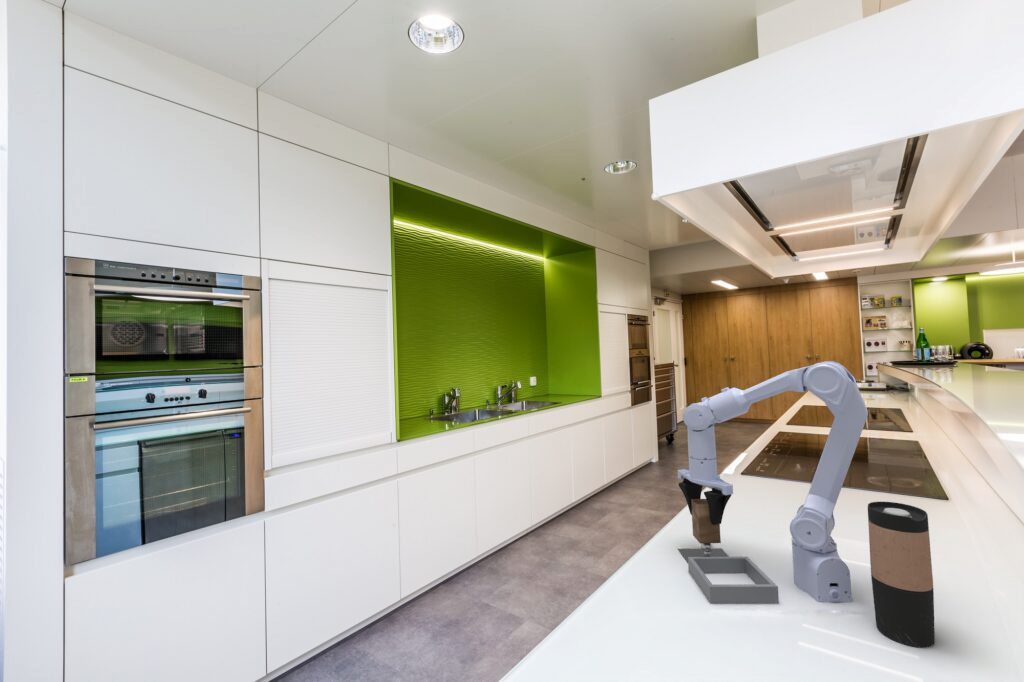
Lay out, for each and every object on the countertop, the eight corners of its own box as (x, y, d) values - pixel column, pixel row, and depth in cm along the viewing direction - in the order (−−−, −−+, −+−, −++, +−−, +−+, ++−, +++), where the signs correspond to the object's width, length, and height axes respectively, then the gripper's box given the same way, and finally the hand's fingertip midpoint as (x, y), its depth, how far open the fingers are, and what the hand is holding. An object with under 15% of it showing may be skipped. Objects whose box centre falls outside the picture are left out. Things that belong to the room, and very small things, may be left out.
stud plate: (741, 573, 93) (739, 550, 93) (692, 574, 94) (690, 550, 94) (721, 552, 103) (720, 531, 103) (677, 553, 104) (676, 532, 104)
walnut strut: (720, 543, 96) (718, 505, 97) (699, 543, 97) (697, 505, 97) (712, 535, 101) (711, 498, 101) (692, 535, 101) (691, 499, 101)
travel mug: (874, 614, 78) (867, 498, 78) (934, 630, 73) (926, 506, 73) (874, 637, 72) (866, 511, 72) (939, 655, 67) (930, 520, 68)
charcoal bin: (779, 609, 80) (777, 586, 80) (710, 609, 81) (709, 586, 81) (748, 576, 92) (747, 556, 92) (688, 576, 93) (687, 556, 93)
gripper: (742, 461, 94) (746, 527, 93) (693, 449, 107) (696, 506, 107) (716, 465, 91) (719, 532, 91) (669, 452, 105) (672, 510, 105)
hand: (705, 518), depth 99 cm, fingers closed on walnut strut, 6 cm apart
